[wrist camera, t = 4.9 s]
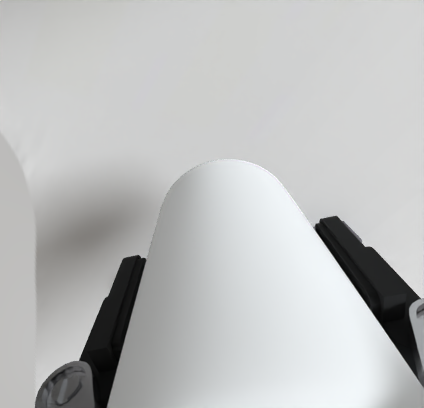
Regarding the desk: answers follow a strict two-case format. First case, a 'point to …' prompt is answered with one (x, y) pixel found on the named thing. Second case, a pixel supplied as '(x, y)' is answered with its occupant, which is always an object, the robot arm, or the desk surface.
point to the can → (251, 308)
